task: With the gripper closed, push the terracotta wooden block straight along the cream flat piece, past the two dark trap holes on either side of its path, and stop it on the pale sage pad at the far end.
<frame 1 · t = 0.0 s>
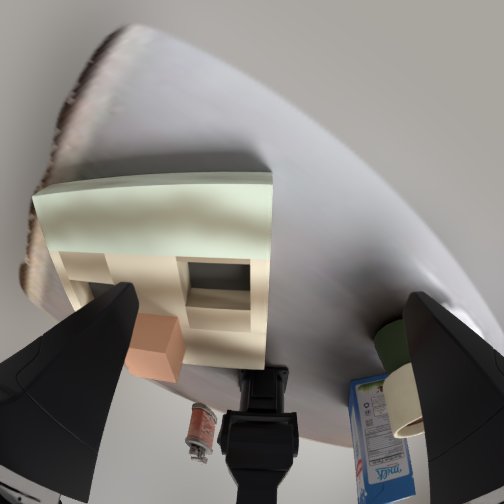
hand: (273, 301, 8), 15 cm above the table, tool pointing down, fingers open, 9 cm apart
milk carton: (367, 390, 38), on the table
cream flat piece: (158, 276, 27), on the table
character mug: (395, 330, 30), on the table
lighter: (205, 411, 44), on the table
block: (159, 331, 27), point 3 cm above the table, touching cream flat piece
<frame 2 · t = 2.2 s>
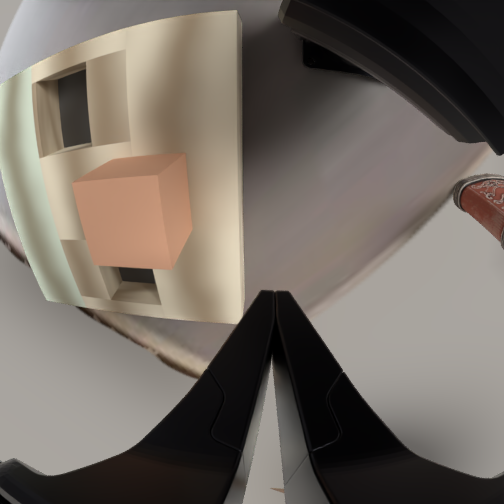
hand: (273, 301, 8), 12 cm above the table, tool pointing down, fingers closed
cream flat piece: (109, 182, 19), on the table
lighter: (483, 190, 17), on the table
block: (151, 193, 17), point 3 cm above the table, touching cream flat piece
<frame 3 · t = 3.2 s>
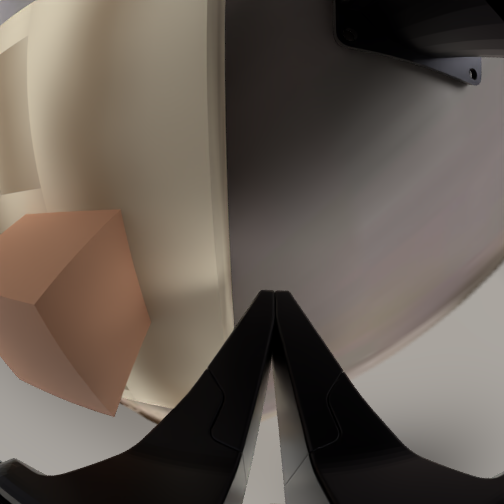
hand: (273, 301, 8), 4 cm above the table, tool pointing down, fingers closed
cream flat piece: (46, 232, 12), on the table
block: (83, 269, 9), point 3 cm above the table, touching cream flat piece
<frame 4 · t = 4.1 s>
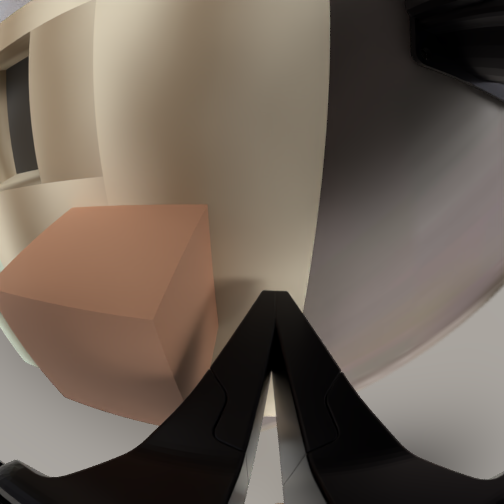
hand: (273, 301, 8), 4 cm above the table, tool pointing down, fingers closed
cream flat piece: (83, 228, 12), on the table
block: (144, 270, 9), point 3 cm above the table, touching cream flat piece, gripper
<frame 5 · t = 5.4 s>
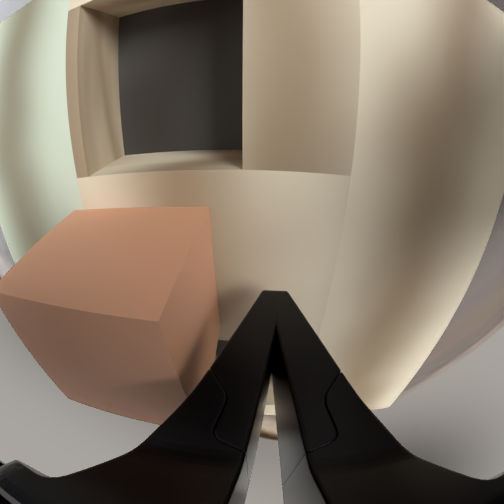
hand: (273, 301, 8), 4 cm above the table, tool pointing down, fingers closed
cream flat piece: (225, 230, 12), on the table
block: (147, 272, 9), point 3 cm above the table, touching gripper
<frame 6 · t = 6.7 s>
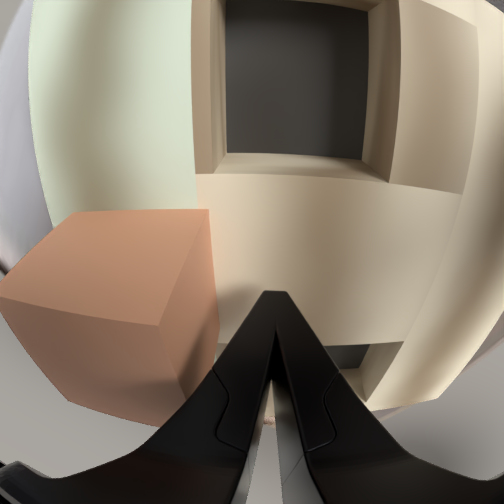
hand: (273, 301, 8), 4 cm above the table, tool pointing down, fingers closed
cream flat piece: (324, 236, 12), on the table
block: (146, 274, 9), point 3 cm above the table, touching cream flat piece, gripper
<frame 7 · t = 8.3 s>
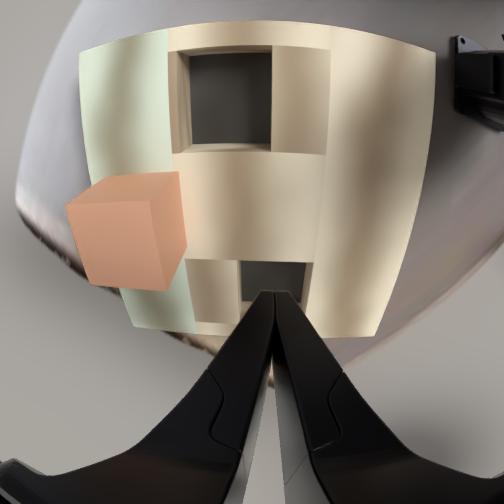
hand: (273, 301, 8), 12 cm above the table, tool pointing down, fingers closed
cream flat piece: (254, 192, 19), on the table
block: (145, 211, 17), point 3 cm above the table, touching cream flat piece
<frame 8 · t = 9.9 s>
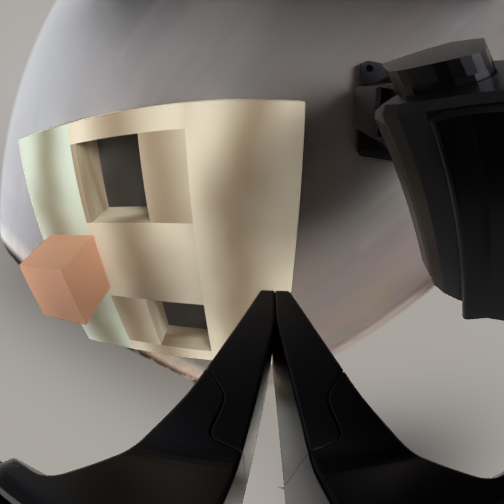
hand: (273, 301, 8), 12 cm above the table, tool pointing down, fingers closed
cream flat piece: (160, 243, 22), on the table
block: (79, 260, 20), point 3 cm above the table, touching cream flat piece
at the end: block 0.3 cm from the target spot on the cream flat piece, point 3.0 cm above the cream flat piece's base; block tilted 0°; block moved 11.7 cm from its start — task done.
